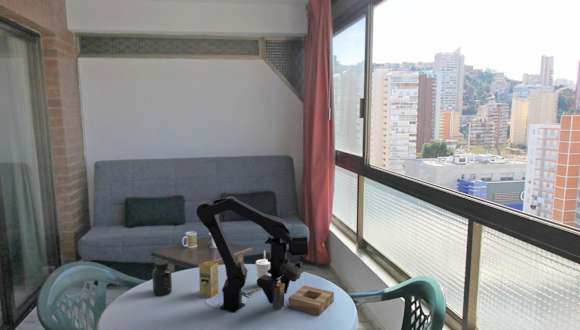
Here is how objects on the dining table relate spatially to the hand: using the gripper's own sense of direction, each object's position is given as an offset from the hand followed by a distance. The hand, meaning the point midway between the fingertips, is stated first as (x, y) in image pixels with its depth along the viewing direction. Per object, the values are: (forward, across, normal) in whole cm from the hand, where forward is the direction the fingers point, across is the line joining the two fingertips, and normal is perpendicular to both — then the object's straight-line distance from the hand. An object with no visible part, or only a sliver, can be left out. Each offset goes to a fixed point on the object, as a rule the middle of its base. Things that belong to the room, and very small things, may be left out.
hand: (278, 298), depth 144 cm
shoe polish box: (+4, -4, +28) cm, 28 cm away
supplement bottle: (+4, -12, +44) cm, 46 cm away
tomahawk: (+4, +11, +13) cm, 18 cm away
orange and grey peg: (+3, 0, 0) cm, 3 cm away
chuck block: (+3, +8, -9) cm, 13 cm away
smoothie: (+4, +13, +15) cm, 20 cm away
